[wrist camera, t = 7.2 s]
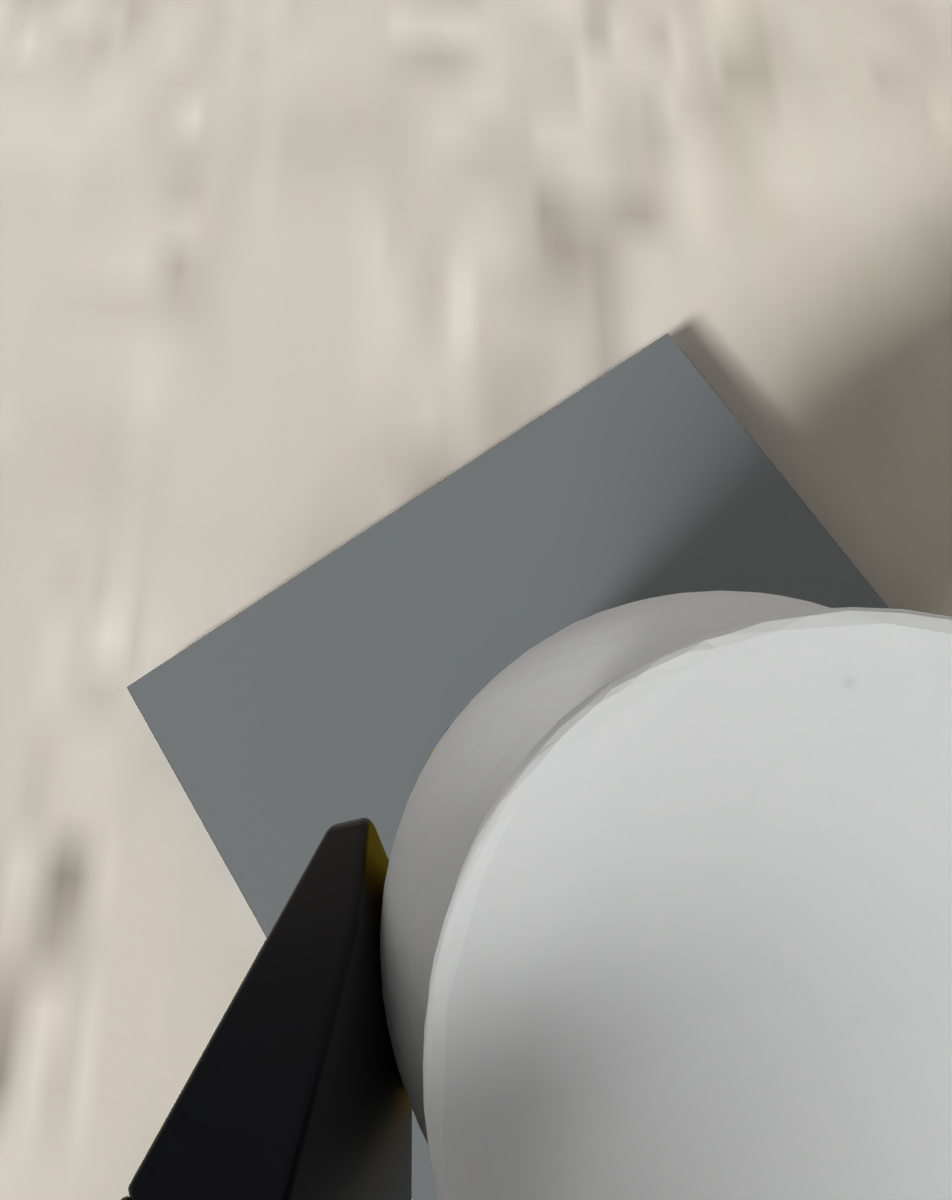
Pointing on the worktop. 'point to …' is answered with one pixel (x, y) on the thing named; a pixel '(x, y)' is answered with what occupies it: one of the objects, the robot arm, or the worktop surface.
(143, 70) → the worktop surface
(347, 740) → the mat
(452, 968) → the pill bottle
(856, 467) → the worktop surface
